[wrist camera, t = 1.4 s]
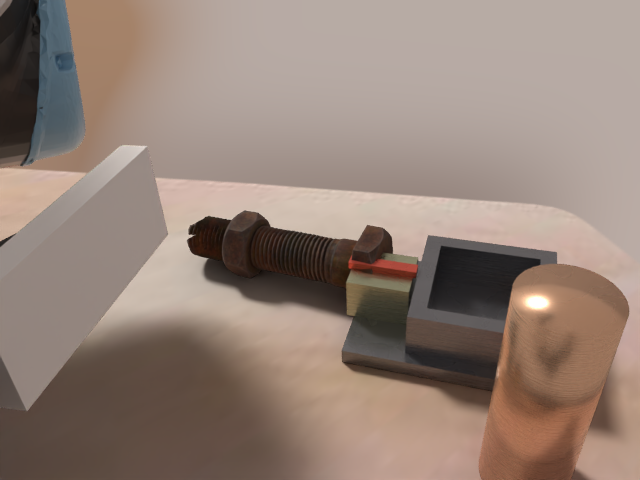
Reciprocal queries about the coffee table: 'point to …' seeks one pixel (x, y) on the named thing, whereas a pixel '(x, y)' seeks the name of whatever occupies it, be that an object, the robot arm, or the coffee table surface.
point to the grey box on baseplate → (436, 309)
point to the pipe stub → (550, 371)
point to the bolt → (284, 248)
